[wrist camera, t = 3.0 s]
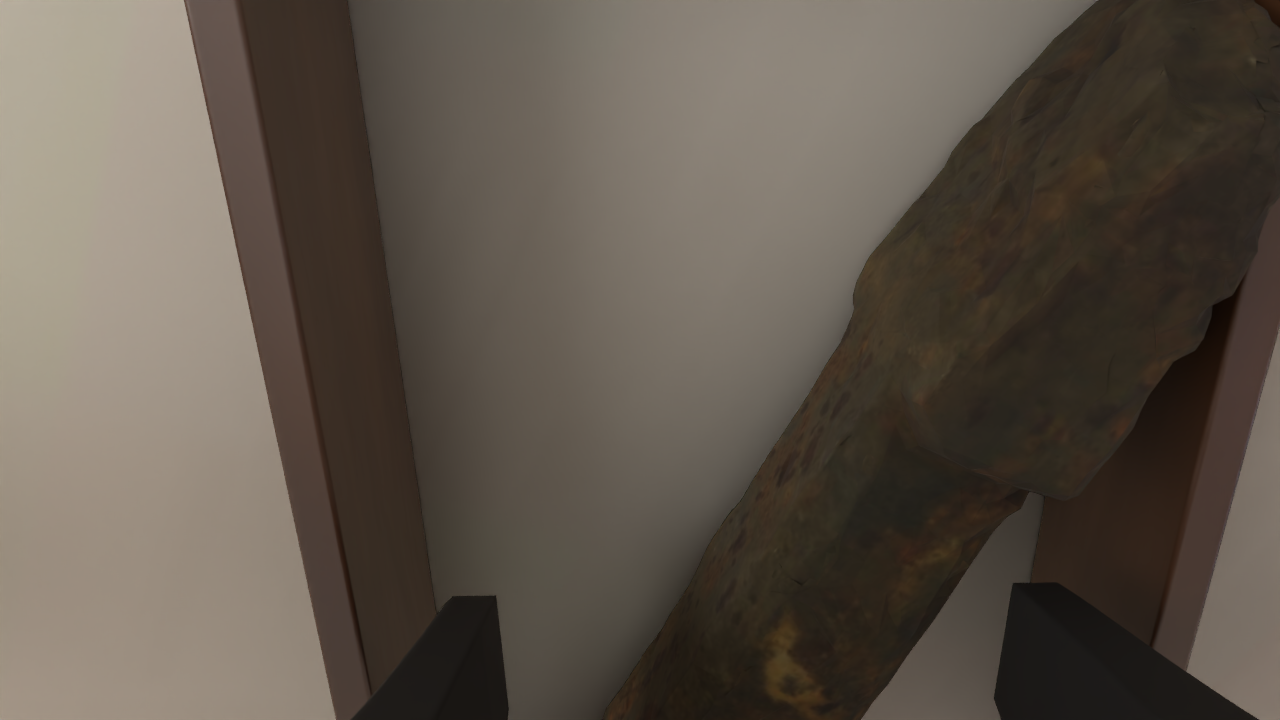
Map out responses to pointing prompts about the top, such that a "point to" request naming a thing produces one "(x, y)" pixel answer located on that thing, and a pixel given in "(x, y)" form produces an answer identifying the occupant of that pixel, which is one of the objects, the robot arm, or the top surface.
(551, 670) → the top surface
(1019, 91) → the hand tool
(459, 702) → the robot arm
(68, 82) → the top surface
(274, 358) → the storage box
